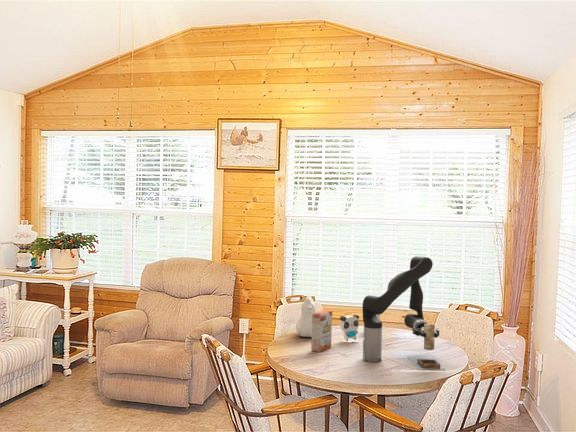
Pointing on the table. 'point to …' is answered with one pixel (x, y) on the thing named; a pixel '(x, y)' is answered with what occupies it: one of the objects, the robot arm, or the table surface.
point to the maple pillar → (429, 336)
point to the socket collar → (428, 363)
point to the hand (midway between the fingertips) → (430, 335)
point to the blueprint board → (414, 358)
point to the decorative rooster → (306, 318)
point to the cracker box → (321, 330)
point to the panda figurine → (349, 326)
